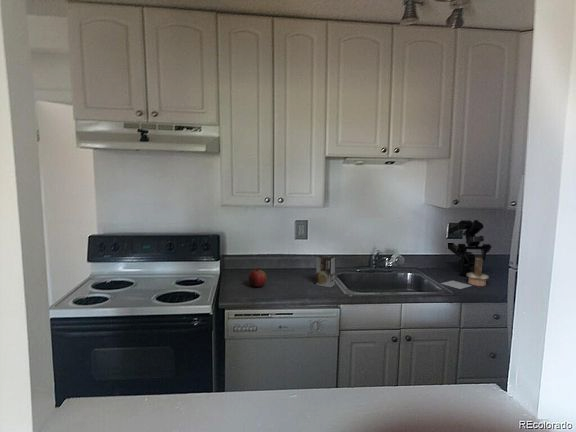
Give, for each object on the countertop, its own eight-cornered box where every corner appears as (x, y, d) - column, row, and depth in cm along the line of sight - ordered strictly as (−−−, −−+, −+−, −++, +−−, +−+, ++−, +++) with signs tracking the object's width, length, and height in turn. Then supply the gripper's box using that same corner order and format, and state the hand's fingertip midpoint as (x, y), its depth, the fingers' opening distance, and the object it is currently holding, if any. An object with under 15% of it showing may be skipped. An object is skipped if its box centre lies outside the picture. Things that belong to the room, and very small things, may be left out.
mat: (440, 284, 222) (440, 283, 222) (452, 281, 229) (452, 280, 228) (460, 289, 212) (460, 288, 212) (471, 286, 219) (472, 285, 219)
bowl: (465, 283, 225) (465, 275, 224) (473, 281, 230) (474, 273, 229) (480, 287, 217) (480, 279, 217) (488, 284, 222) (489, 277, 222)
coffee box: (335, 284, 215) (336, 256, 213) (330, 287, 210) (331, 258, 208) (320, 282, 220) (321, 254, 218) (315, 285, 214) (316, 256, 212)
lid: (470, 278, 218) (472, 260, 217) (463, 273, 229) (464, 255, 228) (492, 279, 217) (493, 261, 215) (483, 274, 228) (485, 256, 227)
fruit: (249, 283, 215) (249, 265, 214) (267, 283, 214) (267, 266, 213) (246, 289, 204) (246, 270, 203) (265, 289, 204) (265, 271, 202)
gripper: (458, 230, 230) (463, 253, 221) (491, 230, 228) (497, 253, 219) (453, 240, 239) (458, 262, 230) (485, 240, 237) (491, 263, 228)
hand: (476, 260), depth 227 cm, fingers open, 9 cm apart
